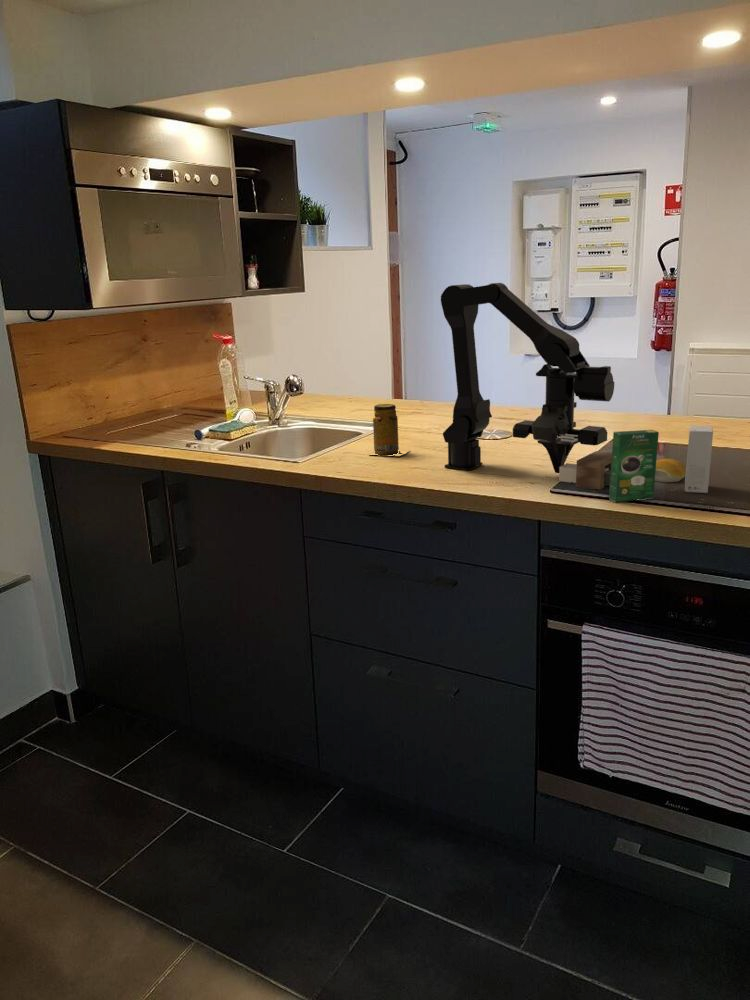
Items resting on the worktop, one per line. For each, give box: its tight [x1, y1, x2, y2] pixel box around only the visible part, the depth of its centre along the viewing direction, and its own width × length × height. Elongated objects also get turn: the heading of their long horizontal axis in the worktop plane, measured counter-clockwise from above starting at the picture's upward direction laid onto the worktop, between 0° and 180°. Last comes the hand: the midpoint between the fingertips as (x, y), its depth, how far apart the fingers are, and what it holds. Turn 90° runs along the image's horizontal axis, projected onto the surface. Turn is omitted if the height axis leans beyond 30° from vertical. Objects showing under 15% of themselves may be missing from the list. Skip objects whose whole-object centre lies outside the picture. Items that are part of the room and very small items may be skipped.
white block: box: [558, 462, 611, 487], centre depth 160 cm, size 11×4×3 cm, turn 53°
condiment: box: [372, 403, 400, 458], centre depth 191 cm, size 7×8×12 cm
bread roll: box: [655, 458, 686, 484], centre depth 161 cm, size 8×9×4 cm
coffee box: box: [608, 429, 660, 503], centre depth 146 cm, size 8×3×13 cm, turn 101°
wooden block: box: [575, 450, 612, 490], centre depth 159 cm, size 5×10×5 cm, turn 143°
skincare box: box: [684, 424, 714, 494], centre depth 151 cm, size 6×4×12 cm
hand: (557, 472), depth 164 cm, fingers closed
